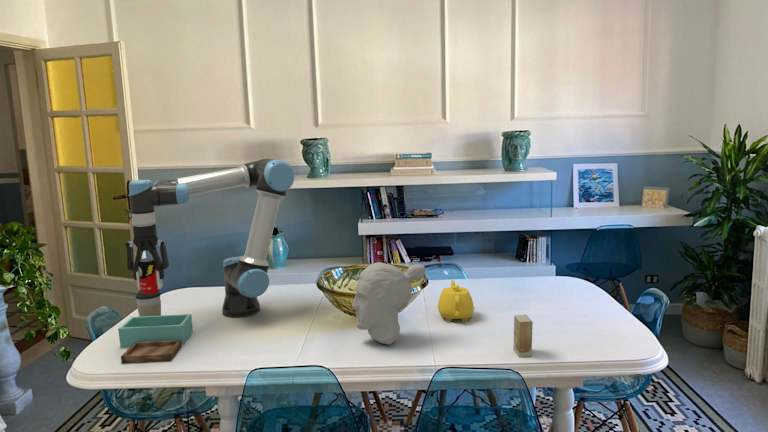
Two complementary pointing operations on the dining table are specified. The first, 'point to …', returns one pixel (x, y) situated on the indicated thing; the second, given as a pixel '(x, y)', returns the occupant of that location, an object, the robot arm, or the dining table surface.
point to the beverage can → (148, 276)
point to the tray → (151, 351)
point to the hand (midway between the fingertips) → (150, 288)
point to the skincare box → (523, 335)
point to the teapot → (455, 303)
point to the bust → (383, 299)
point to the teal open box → (155, 329)
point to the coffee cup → (148, 304)
